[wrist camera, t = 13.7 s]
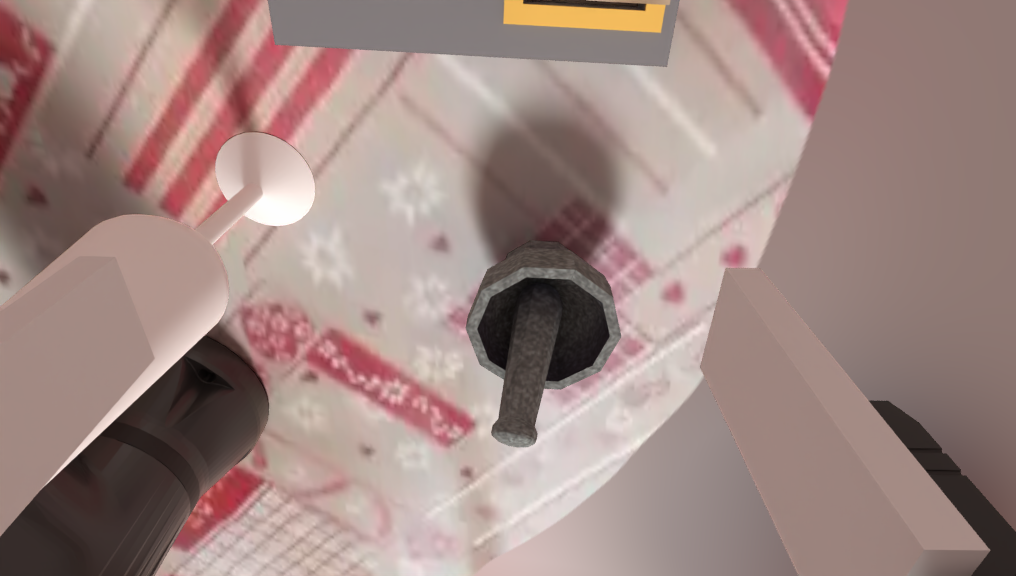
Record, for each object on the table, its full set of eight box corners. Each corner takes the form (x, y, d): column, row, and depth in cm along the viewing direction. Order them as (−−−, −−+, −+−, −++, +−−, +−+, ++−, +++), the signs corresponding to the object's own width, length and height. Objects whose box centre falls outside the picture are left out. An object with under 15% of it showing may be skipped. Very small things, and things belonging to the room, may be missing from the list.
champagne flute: (202, 130, 36) (-230, 377, 15) (305, 132, 36) (8, 384, 15) (228, 225, 39) (-94, 527, 19) (323, 227, 39) (100, 534, 19)
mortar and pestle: (504, 197, 38) (496, 291, 27) (629, 242, 39) (664, 347, 29) (455, 322, 43) (432, 439, 33) (565, 357, 45) (576, 479, 34)
